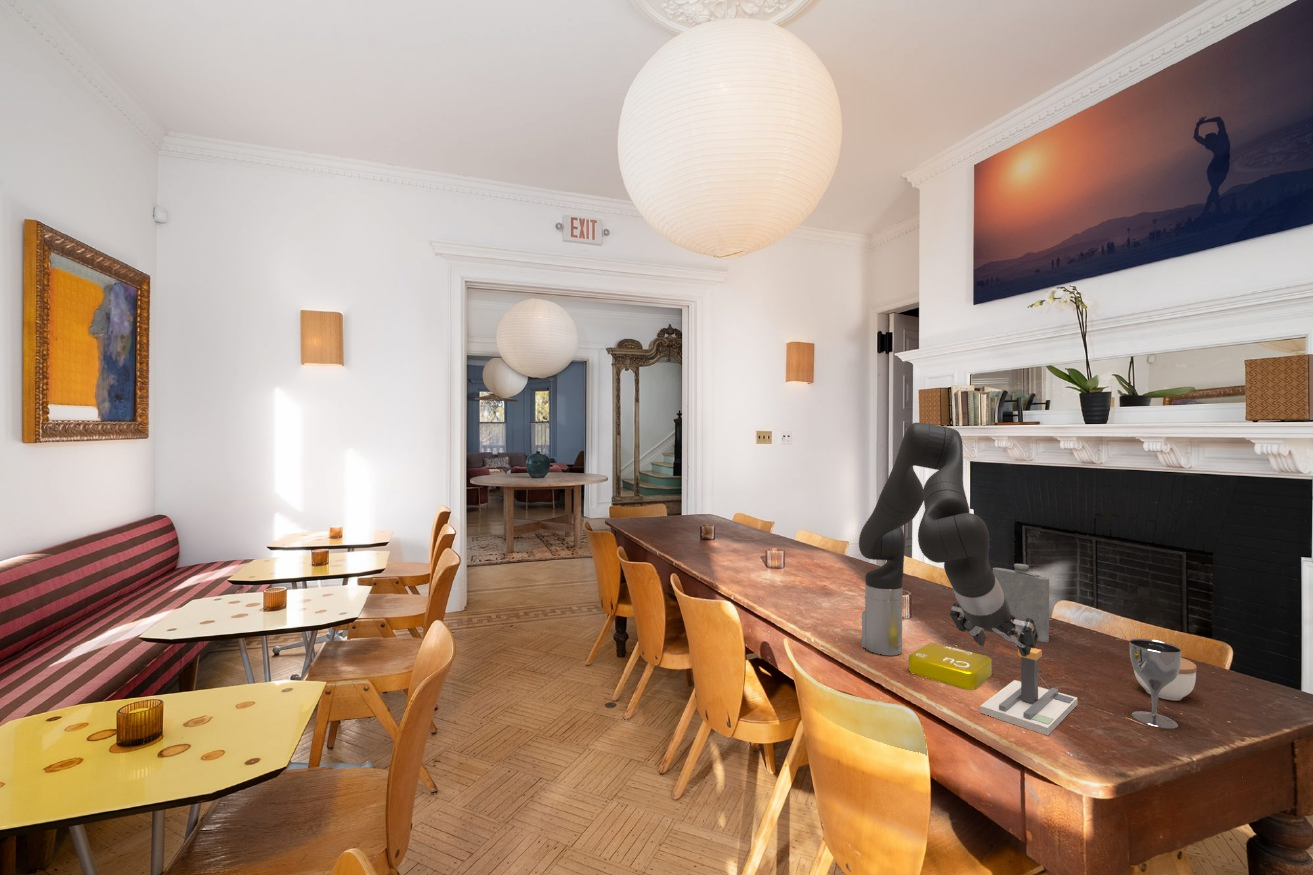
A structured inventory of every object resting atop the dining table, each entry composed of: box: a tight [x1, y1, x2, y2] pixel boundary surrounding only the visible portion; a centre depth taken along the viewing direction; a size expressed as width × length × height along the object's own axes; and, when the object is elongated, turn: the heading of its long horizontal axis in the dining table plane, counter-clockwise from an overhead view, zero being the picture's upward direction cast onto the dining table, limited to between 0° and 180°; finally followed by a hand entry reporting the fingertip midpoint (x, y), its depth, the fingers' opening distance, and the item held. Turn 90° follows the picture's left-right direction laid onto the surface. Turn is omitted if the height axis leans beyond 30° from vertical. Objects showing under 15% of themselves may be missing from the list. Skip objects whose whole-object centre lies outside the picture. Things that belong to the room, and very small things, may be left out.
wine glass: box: [1129, 638, 1182, 730], centre depth 118 cm, size 8×8×15 cm
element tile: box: [908, 642, 993, 691], centre depth 141 cm, size 15×15×5 cm
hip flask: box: [992, 563, 1050, 643], centre depth 171 cm, size 16×4×20 cm, turn 26°
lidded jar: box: [1133, 657, 1198, 701], centre depth 130 cm, size 11×11×9 cm
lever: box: [1017, 647, 1043, 704], centre depth 122 cm, size 3×3×11 cm
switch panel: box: [979, 679, 1079, 736], centre depth 122 cm, size 12×20×2 cm, turn 131°
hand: (1003, 646), depth 112 cm, fingers open, 7 cm apart
